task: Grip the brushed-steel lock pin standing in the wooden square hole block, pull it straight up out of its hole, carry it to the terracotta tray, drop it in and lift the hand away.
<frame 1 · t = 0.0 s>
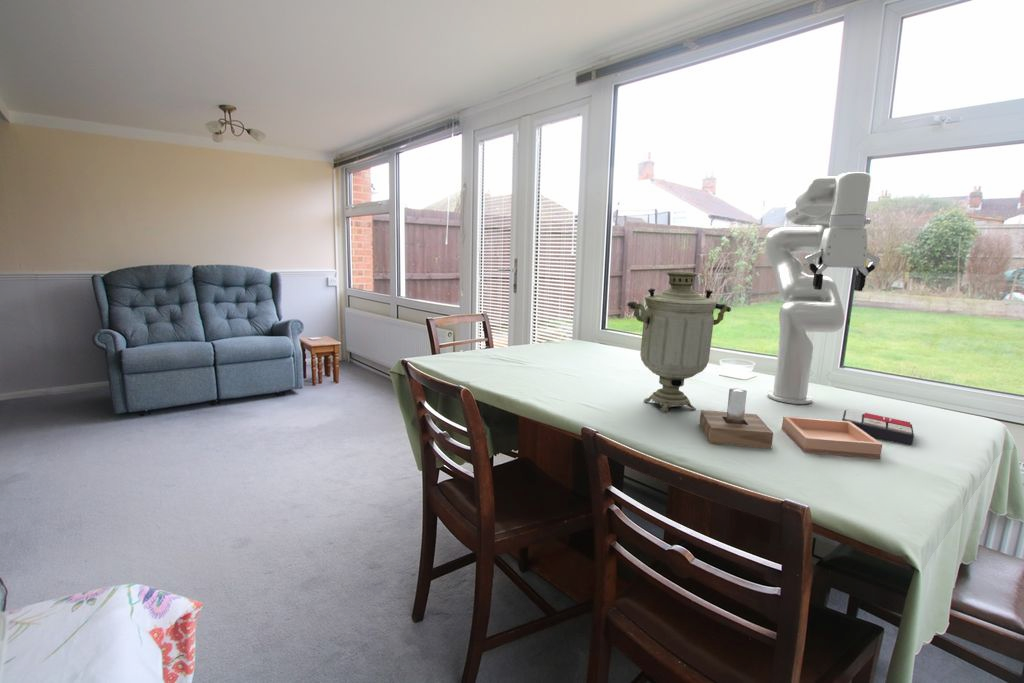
hand: (837, 290, 132), 37 cm above the table, tool pointing down, fingers open, 9 cm apart
wooden square hole block: (733, 435, 127), on the table
calculator: (874, 434, 132), on the table
lock pin: (735, 413, 126), in the wooden square hole block
samovar: (668, 403, 154), on the table
tray: (827, 442, 124), on the table
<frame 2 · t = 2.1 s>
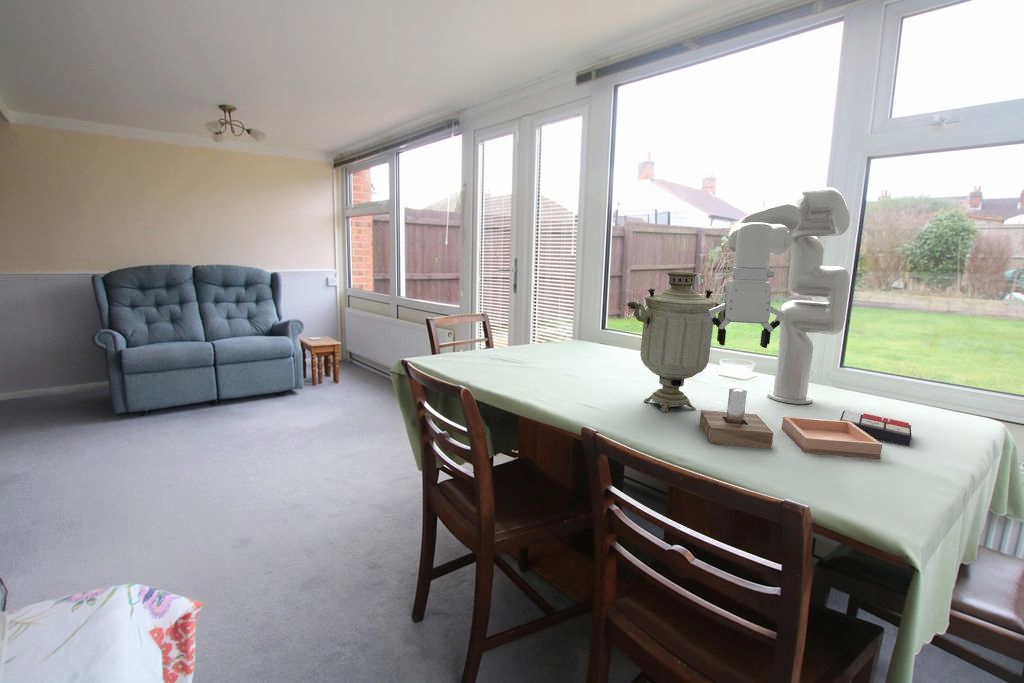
hand: (742, 345, 123), 23 cm above the table, tool pointing down, fingers open, 9 cm apart
calculator: (872, 435, 132), on the table
everything else where it was.
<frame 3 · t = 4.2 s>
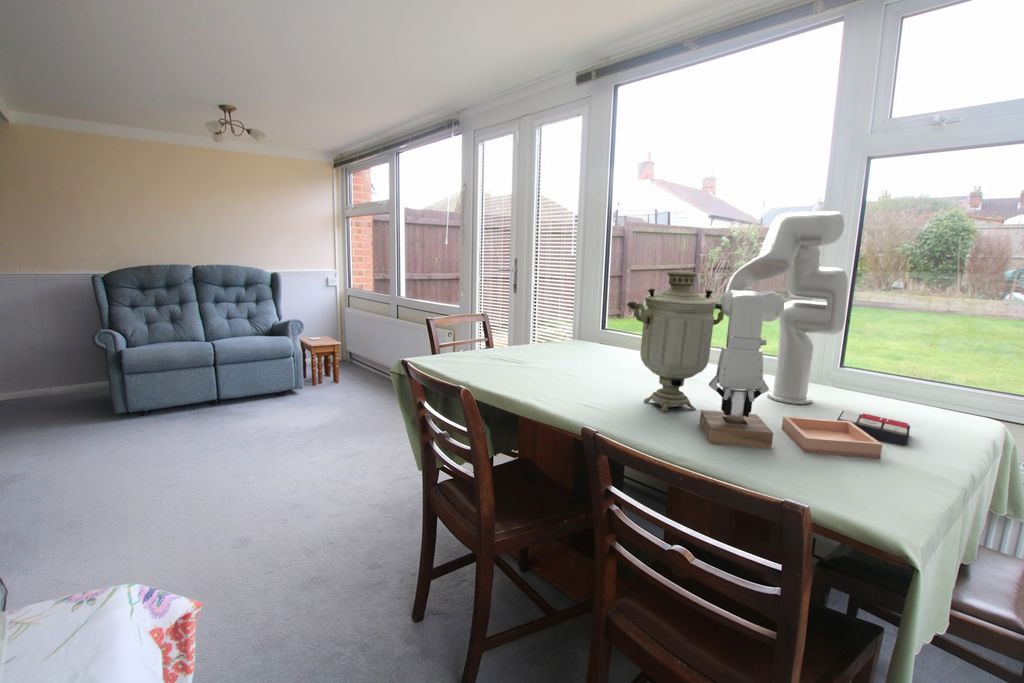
hand: (735, 413, 126), 6 cm above the table, tool pointing down, fingers closed on lock pin, 4 cm apart
lock pin: (735, 413, 126), in the wooden square hole block, touching gripper
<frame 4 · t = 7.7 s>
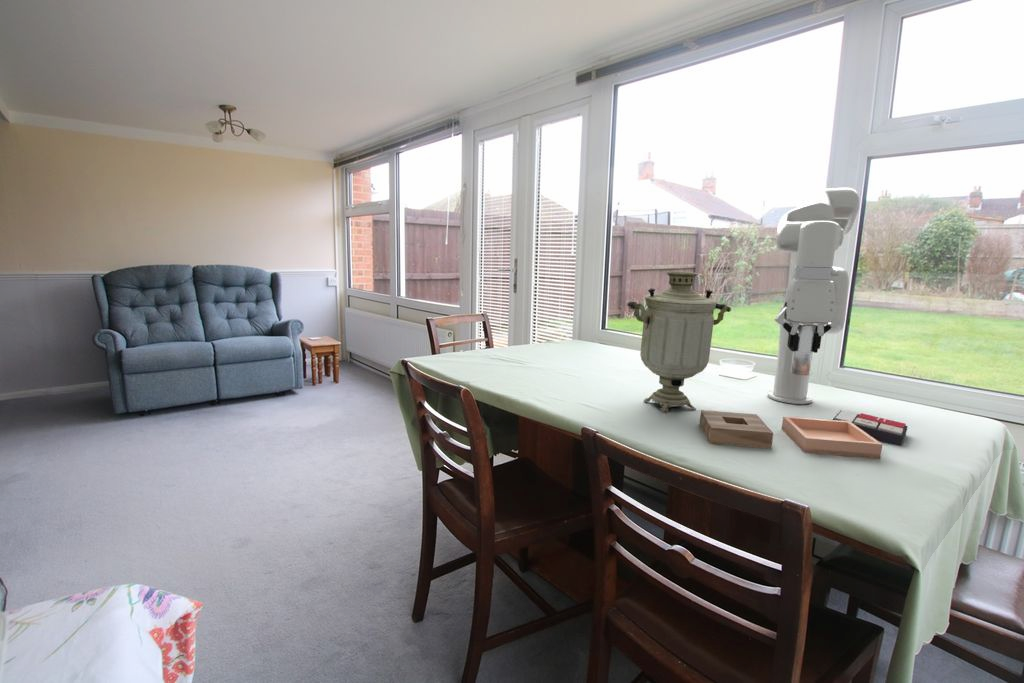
hand: (802, 350, 121), 23 cm above the table, tool pointing down, fingers closed on lock pin, 4 cm apart
lock pin: (802, 349, 121), point 23 cm above the table, touching gripper
when the fingers open (9 cm above the table, at t = 11.4 s): lock pin drops 2 cm, resting on tray.
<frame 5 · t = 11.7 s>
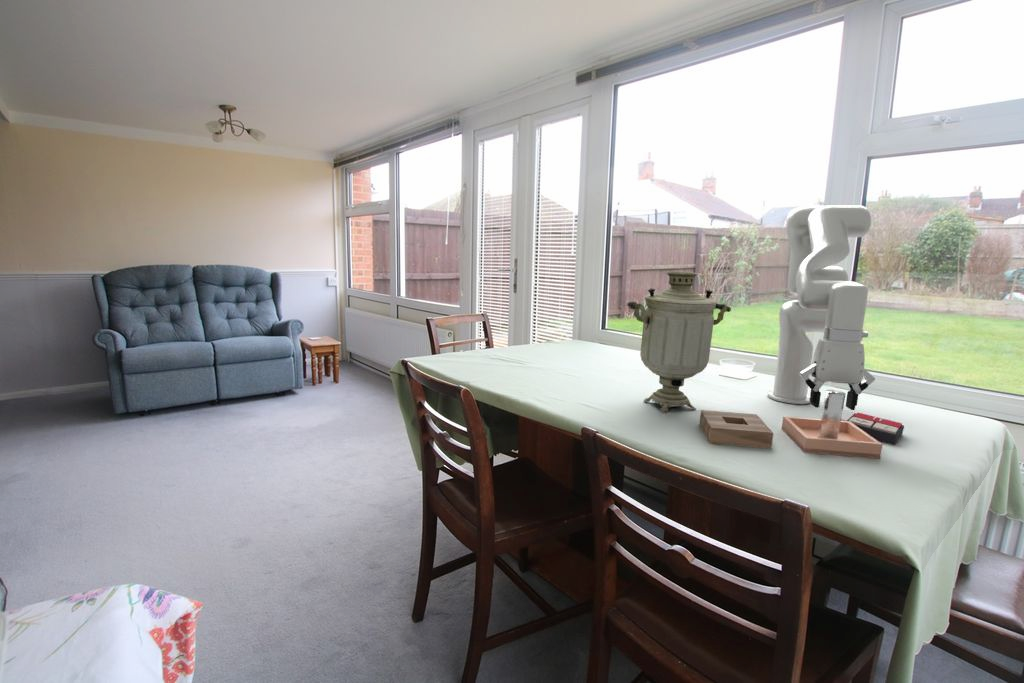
hand: (832, 406, 122), 9 cm above the table, tool pointing down, fingers open, 7 cm apart
lock pin: (831, 415, 122), in the tray, point 7 cm above the table
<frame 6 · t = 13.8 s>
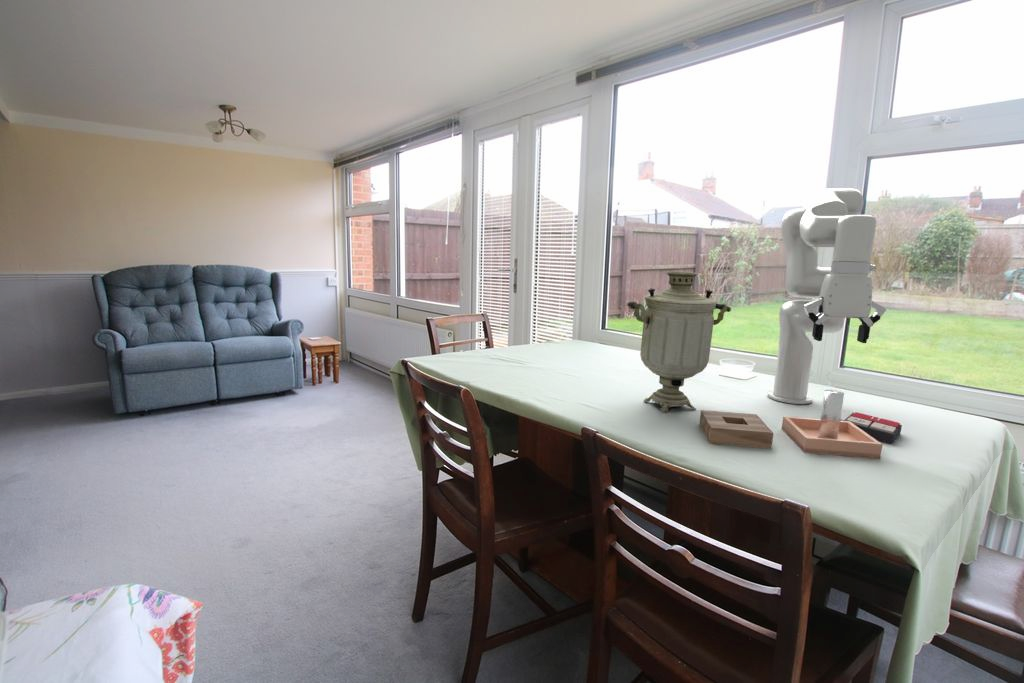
hand: (839, 341, 121), 25 cm above the table, tool pointing down, fingers open, 9 cm apart
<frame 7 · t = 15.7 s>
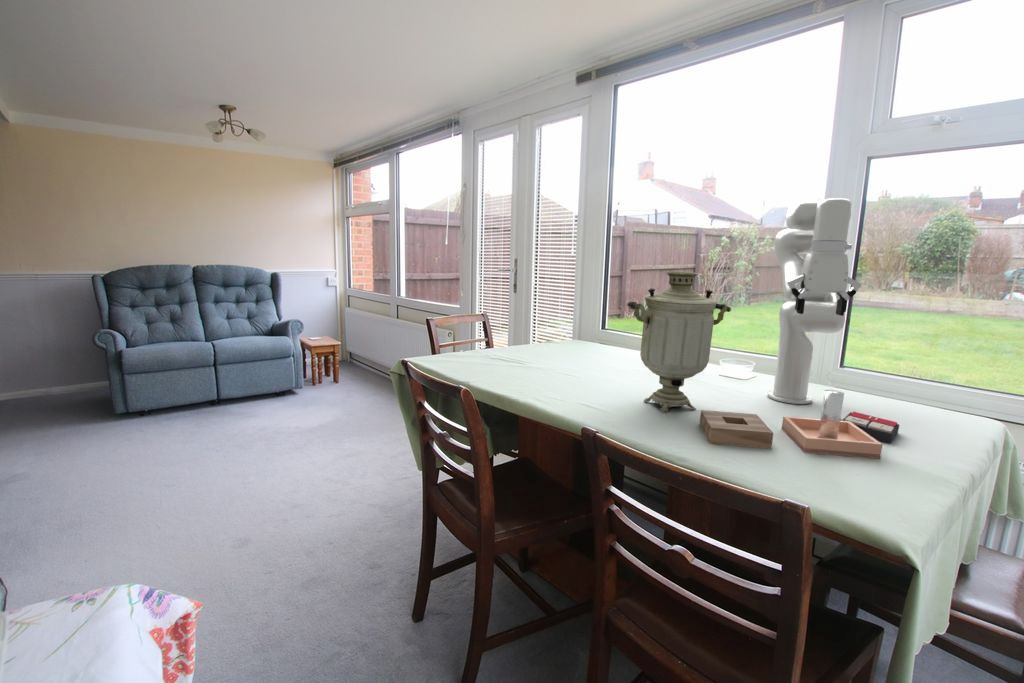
hand: (819, 314, 132), 30 cm above the table, tool pointing down, fingers open, 9 cm apart
calculator: (859, 433, 133), on the table, touching tray
everything else where it was.
at the end: lock pin inside the target area on the tray (0.0 cm from its centre), point 7.0 cm above the tray's base; lock pin moved 22.0 cm from its start; the gripper is holding nothing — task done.
